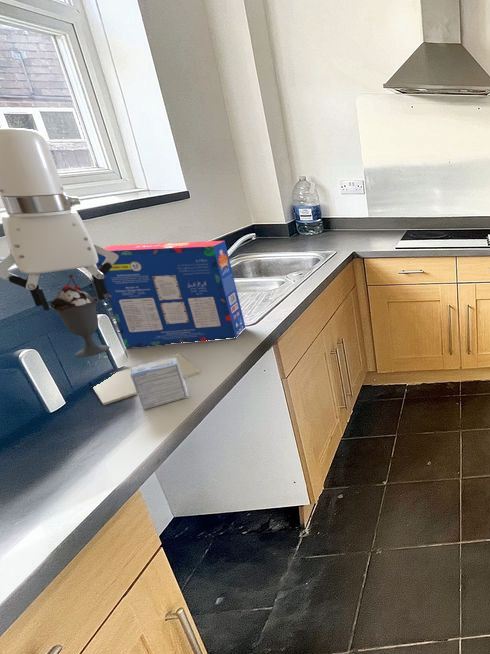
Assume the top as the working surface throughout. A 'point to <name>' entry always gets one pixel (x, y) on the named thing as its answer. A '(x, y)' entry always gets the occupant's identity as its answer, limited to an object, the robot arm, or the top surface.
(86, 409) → the top surface
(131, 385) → the mat
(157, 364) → the medicine box
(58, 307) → the sundae
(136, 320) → the pasta box
